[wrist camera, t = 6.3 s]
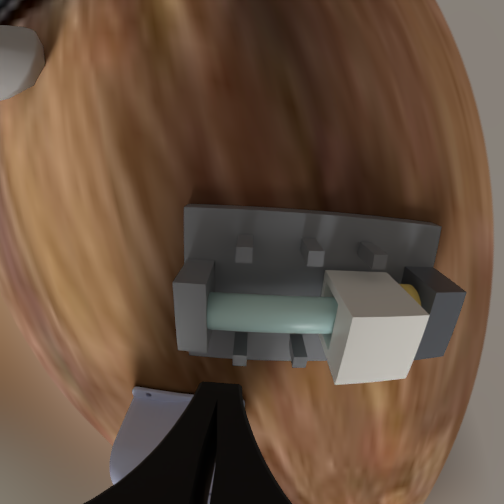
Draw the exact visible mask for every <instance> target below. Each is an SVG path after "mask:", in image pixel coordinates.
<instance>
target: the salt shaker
mask: <svg viewBox="0 0 504 504" xmlns="http://www.w3.org/2000/svg"><path fill="white" fill-rule="evenodd" d="M44 65H45V58H44V47H43V45H42V43H41V41H40V39H39V38H38V36H37V34H36V32H35V31H34V30H32V29H29V28H25V27H18V26H4V25H0V101H1V100H5V99H9V98H11V97H13V96H15V95H16V94H18V93H20V92H22V91H24V90H26V89H28V88H30V87H32V86H34V84H35V82H36V80H37V78H38V76H39V74H40V72H41V71H42V69H43V67H44Z"/></svg>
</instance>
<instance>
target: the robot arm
mask: <svg viewBox="0 0 504 504" xmlns="http://www.w3.org/2000/svg"><path fill="white" fill-rule="evenodd" d="M132 392H133V396H134V398H133V400H132V402H131V404H130V407H129V409H128V411H127V413H126V416H125V418H124V420H123V423H122V425H121V427H120V430H119V432H118V434H117V437H116V439H115V442H114V444H113V447H112V451H111V457H110V476H111V479H112V482H113V486H111V487H110V488H108V489H107V490H105V491H104V492H103V493H101V494H100V495H98V496H96V497H95V498H93V499H91V500H90V501H88V502H86V503H84V504H292V503H291V502H290V500H289V499H288V498H287V496H286V495H285V494H284V492H283V491H282V489H281V488H280V486H279V484H278V483H277V481H276V480H275V478H274V476H273V475H272V473H271V471H270V469H269V468H268V466H267V464H266V462H265V460H264V458H263V456H262V454H261V452H260V449H259V447H258V445H257V443H256V440H255V438H254V435H253V432H252V430H251V427H250V424H249V421H248V418H247V415H246V411H245V401H244V400H243V396H242V387H241V386H240V385H239V384H226V383H213V382H201V383H200V384H199V386H198V388H197V390H196V392H195V394H194V395H192V394H183V393H176V392H168V391H162V390H155V389H149V388H143V387H134V388H133V390H132Z"/></svg>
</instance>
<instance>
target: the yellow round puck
mask: <svg viewBox="0 0 504 504" xmlns="http://www.w3.org/2000/svg"><path fill="white" fill-rule="evenodd" d="M399 285H400V286H401V287H402V288H403V289H404V290H405V291H406V292H407V293H408V294H409V295H410V296H411V297H412V298H413V299H414V300H415V301H416V302H417V303H418V304H419V305H420V306H421V301H420V297H419V294H418V292H417V291H416V289H415V288H414V287H413V286H412V285H410V284H399Z"/></svg>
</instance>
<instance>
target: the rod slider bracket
mask: <svg viewBox="0 0 504 504" xmlns="http://www.w3.org/2000/svg"><path fill="white" fill-rule="evenodd" d="M440 232H441V226H439V225H437V224H434V223H432V222H424V221H416V220H408V219H399V218H390V217H381V216H371V215H361V214H350V213H339V212H327V211H315V210H302V209H287V208H272V207H254V206H234V205H210V204H188V205H186V206H185V207H184V265H183V267H182V268H181V270H180V271H179V273H178V275H177V276H176V278H175V279H174V281H173V296H174V311H175V324H176V335H177V346H178V350H182V351H189V355H193V356H204V357H216V358H230V359H233V366H246V362H247V360H274V361H291V363H292V368H306V363H307V361H327V359H326V356H325V353H324V349H323V346H322V343H321V340H320V337H319V334H332V333H333V328H334V323H335V318H336V313H337V308H338V303H337V301H336V299H335V297H321V293H322V287H323V280H324V274H325V270H340V271H365V272H387V273H388V274H389V275H390V276H391V277H392V278H393V279H394V280H395V281H396V282H397V283H398V284H410V285H412V286H413V287H414V288H415V289H416V291H417V292H418V294H419V297H420V301H421V307H422V308H423V309H424V310H425V311H426V312H427V313H428V314H429V315H430V316H429V319H428V322H427V325H426V328H425V331H424V333H423V336H422V339H421V342H420V344H419V347H418V350H417V352H416V355H415V357H414V360H419V359H426V358H434V357H440V356H443V355H444V353H445V350H446V348H447V346H448V343H449V341H450V338H451V336H452V333H453V330H454V328H455V325H456V322H457V319H458V317H459V314H460V311H461V308H462V305H463V302H464V299H465V295H466V291H464V290H463V289H462V288H460V287H459V286H458V285H456V284H455V283H454V282H452V281H451V280H450V279H448V278H447V277H446V276H444V275H443V274H442V273H440V272H439V271H437V270H436V269H435V268H433V266H434V262H435V257H436V253H437V248H438V243H439V238H440Z"/></svg>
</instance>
